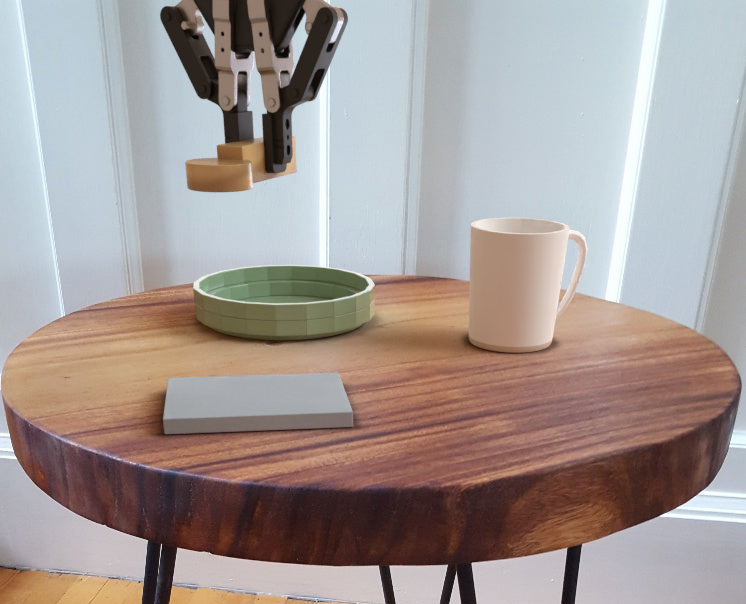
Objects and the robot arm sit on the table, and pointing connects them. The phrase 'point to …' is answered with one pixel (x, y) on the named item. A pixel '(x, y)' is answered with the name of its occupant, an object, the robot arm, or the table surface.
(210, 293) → the pan
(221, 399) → the board
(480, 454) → the table surface
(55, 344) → the table surface
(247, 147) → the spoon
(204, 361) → the table surface
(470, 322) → the mug
